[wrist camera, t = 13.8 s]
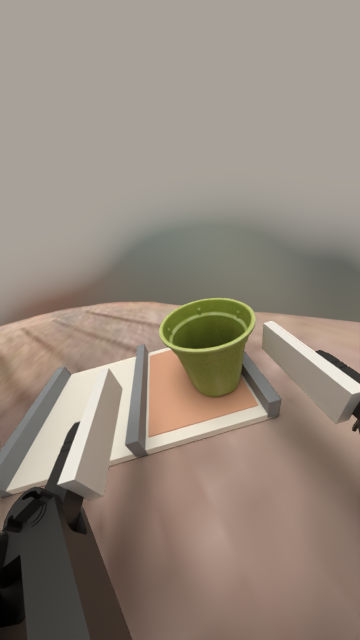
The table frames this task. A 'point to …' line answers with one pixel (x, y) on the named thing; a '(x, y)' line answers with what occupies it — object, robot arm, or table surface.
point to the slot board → (131, 414)
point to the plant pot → (210, 342)
